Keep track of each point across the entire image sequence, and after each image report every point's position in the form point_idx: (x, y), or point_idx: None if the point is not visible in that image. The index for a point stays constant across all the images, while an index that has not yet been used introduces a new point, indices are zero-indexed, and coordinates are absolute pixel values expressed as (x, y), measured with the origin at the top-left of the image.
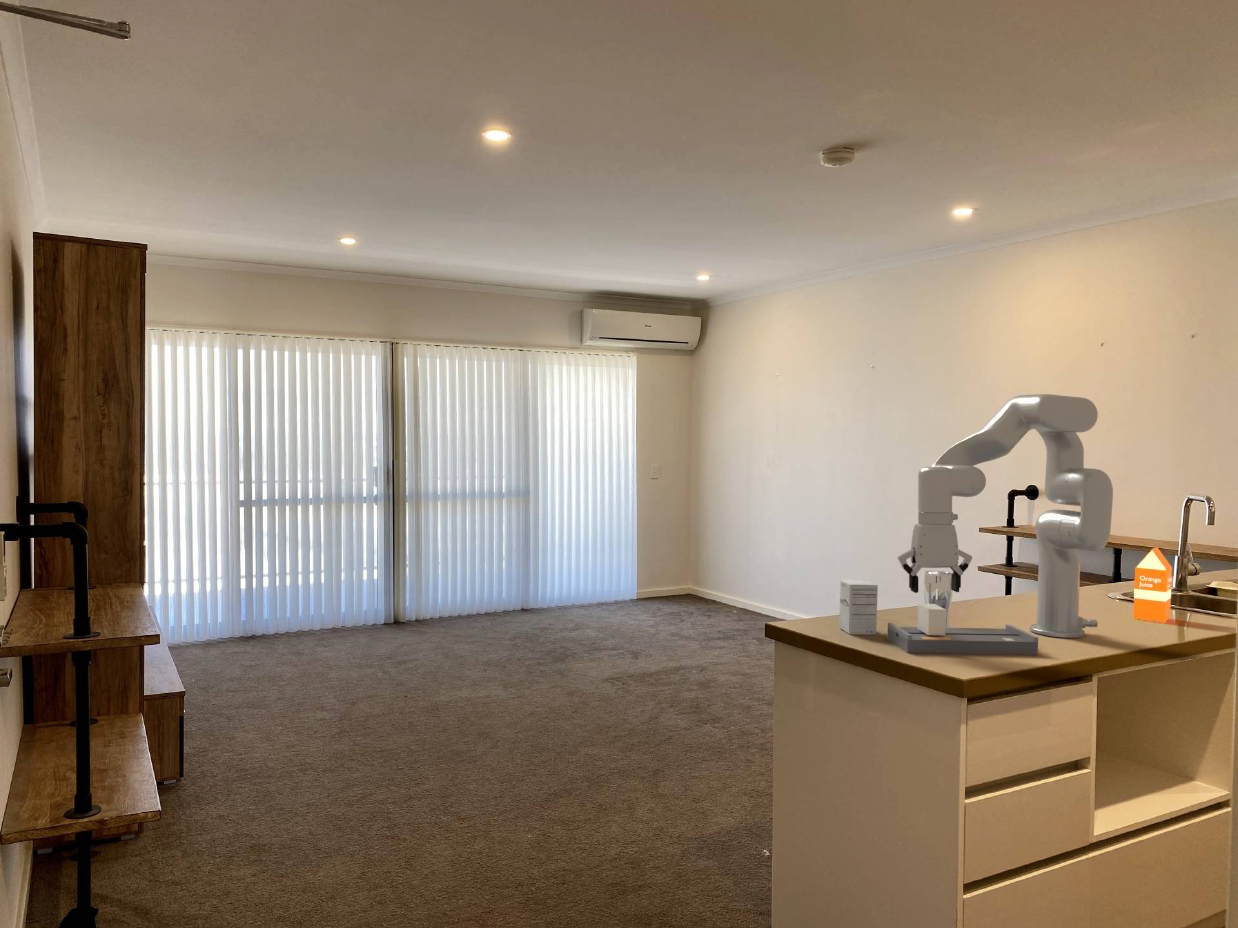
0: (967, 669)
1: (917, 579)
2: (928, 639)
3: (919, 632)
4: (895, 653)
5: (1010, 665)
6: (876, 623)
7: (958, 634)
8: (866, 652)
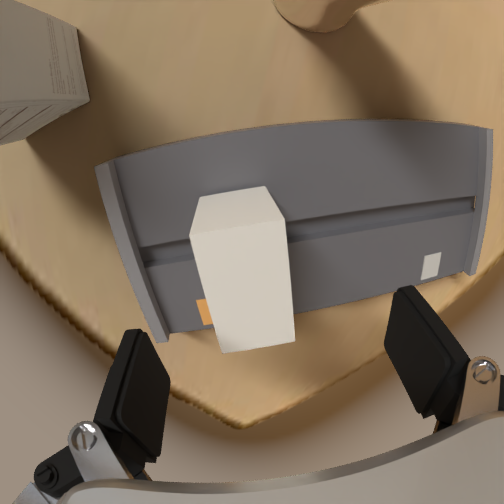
0: (268, 390)
1: (156, 444)
2: None
3: None
4: (137, 321)
5: (360, 349)
6: (73, 101)
7: (337, 212)
8: (81, 323)
